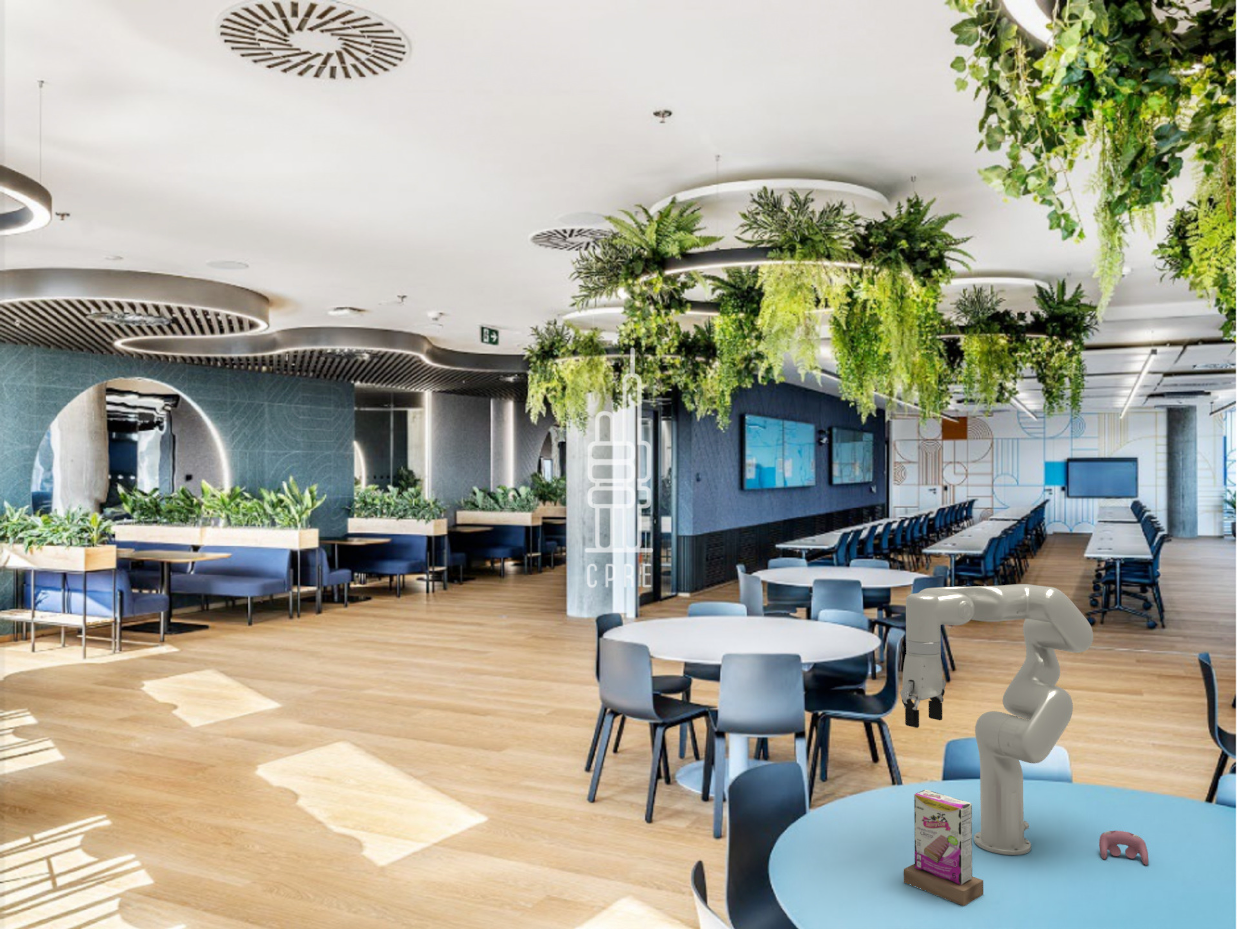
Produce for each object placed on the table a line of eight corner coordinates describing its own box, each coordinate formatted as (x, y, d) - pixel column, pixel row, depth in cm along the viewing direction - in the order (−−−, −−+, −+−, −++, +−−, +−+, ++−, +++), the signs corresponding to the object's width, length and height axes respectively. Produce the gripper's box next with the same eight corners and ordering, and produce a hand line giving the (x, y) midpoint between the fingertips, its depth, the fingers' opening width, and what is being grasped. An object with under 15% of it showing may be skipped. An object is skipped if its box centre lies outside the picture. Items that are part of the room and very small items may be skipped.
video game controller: (1147, 867, 206) (1144, 835, 209) (1150, 865, 202) (1147, 832, 205) (1099, 860, 210) (1097, 828, 213) (1100, 858, 206) (1099, 826, 209)
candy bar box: (913, 869, 195) (912, 793, 195) (925, 862, 198) (925, 788, 198) (961, 886, 186) (960, 807, 187) (973, 879, 189) (972, 802, 190)
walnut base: (923, 872, 200) (923, 858, 200) (983, 894, 189) (983, 880, 189) (903, 882, 195) (903, 868, 195) (963, 906, 184) (963, 891, 184)
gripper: (928, 641, 213) (929, 713, 213) (887, 650, 202) (888, 726, 202) (958, 645, 208) (958, 719, 207) (917, 655, 197) (918, 733, 196)
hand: (924, 722), depth 205 cm, fingers open, 9 cm apart
